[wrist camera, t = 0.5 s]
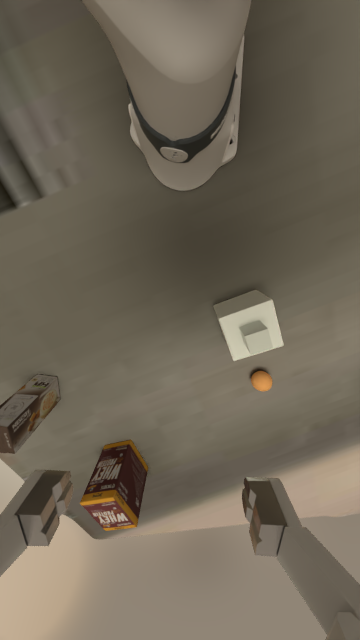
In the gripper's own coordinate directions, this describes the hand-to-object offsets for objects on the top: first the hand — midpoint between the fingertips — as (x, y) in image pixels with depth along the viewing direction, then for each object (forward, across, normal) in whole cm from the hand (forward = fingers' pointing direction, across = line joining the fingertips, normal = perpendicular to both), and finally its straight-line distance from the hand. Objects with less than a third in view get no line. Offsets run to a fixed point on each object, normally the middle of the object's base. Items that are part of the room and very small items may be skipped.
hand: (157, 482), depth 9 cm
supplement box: (+43, +18, +54) cm, 72 cm away
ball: (+36, -22, +18) cm, 46 cm away
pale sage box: (+37, -15, +1) cm, 40 cm away
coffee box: (+40, +38, +25) cm, 61 cm away
